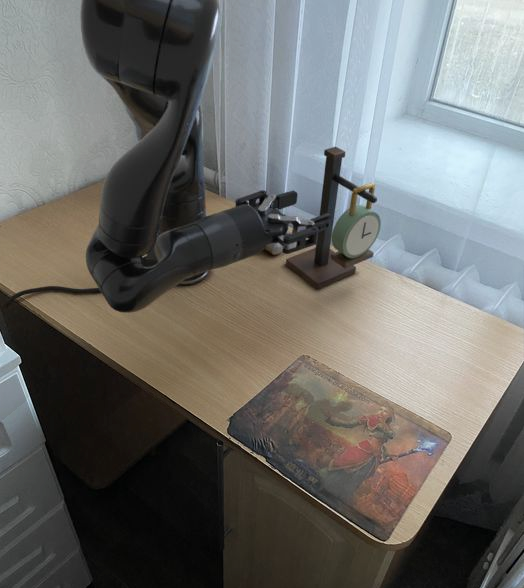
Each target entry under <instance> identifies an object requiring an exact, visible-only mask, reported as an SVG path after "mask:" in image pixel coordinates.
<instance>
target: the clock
mask: <svg viewBox="0 0 524 588" xmlns="http://www.w3.org/2000/svg"><path fill="white" fill-rule="evenodd" d="M375 188H376V183H375V182H369V183H367V184H363V185H361V186H358V188H355V189H353V192H351V198H350V204H349V208H348V209H346V210H345V211H344V212H343V213H342V214H341V215H340V216H339V218H338V219H337V220H336V222H335V225H334V226H333V229H332V237H331V245H332V246H333V248H334V249H335V250H336V251H334V252H335V253H333V254H331V259H332V260H334V261H335V262H336V263H338V264H339V265H341V266H342V267H343V268H345V269H346V268H348V267H350V266H353V265H354V266H355V265H357V264H360V263H362V262H364V261H367V260H369V259H372V258H373V257H374V252H373V251H372V250H370V249H371V248H372V247H373V245H374V244H375V242H376V241H377V239H378V236H379V235H380V230H381V226H382V225H381V224H382V221H381V217H380V215H379V214H378V213H377V212H375V211H374V210H372V205H373V203H371V202H369V201H368V200H366V204H365V205H364V204H357V201H358V196H359V195H358V194H357V193H358V192H361V191H364V190H365V191H367V190H368V192H369V193H371V194H372V195H374V196H375V191H376V189H375Z"/></svg>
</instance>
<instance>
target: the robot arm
mask: <svg viewBox="0 0 524 588" xmlns="http://www.w3.org/2000/svg"><path fill="white" fill-rule="evenodd" d="M80 4H81V5H80V13H79V14H80V15H79V17H80V18H79V19H80V33H81V41H82V45H83V49H84V52H85V55H86V58H87V60H88V63H89V65H90V67H91V68H92V69H93V71H94V72H95V73H96V74H97V75H98V76H100V77H101V78H103V80H105V82H107V83H108V84H109V85H110V86H111V88H113V90H114V91H115V93H116V95H117V96H118V98H119V100H120V102H121V104H122V106H123V108H124V109H125V111H126V114H127V115H128V117H129V118H130V119H131V121H132V124H133V126H134V130H135V135H136V139H137V141H138V142H137V143H136V144H134V145H133V146H132V147H131V148H130V149H128V150H127V151H126V152H125V153H124V154H123V155H121V157H119V158H118V159H117V160H116V161H115V162H114V163H113V165H112V166H111V168H110V169H109V170H108V172H107V174H106V176H105V178H104V181H103V184H102V187H101V194H100V202H99V203H100V205H99V216H98V225H97V227H96V228H95V229H94V231H93V234H92V235H91V238H90V240H89V242H88V244H87V247H86V250H85V262H86V264H85V265H86V268H87V270H88V272H89V274H90V276H91V277H92V279H93V281H94V283H95V284H96V286H97V287H91V288H74V287H73V288H72V287H67V286H60V285H59V286H58V285H47V286H41V287H40V286H39V287H33V288H28V289H24V290H21V291H18V292H16V293H14V294H13V295H11V296H10V297H9V298H8V299H7V300H6V301H5V302H4V303H3V305H2V307H1V308H3V309H6V308H8V307H9V306H10V305H11V303H12V302H13V301H15V300H17V299H18V298H20V297H22V296H25V295H29V294H34V293H39V292H47V291H59V292H67V293H72V294H90V293H101V294H102V296H103V298H104V299H105V302H107V304H108V305H109V307H110V308H111V309H112V310H114V311H115V312H119V313H125V314H130V313H136V312H137V313H138V312H140V311H142V310H144V309H146V308H147V307H148V306H150V305H152V304H153V303H154V302H155V301H156V300H158V299H159V298H160V297H162V296H163V295H164V294H166V293H168V291H170V290H172V289H173V288H174V287H176V286H177V285H179V286H180V285H181V286H187V285H188V286H190V285H194V284H197V283H200V282H202V281H203V280H205V279H206V278H207V276H208V275H209V273H210V271H211V270H216V269H221V268H224V267H227V266H229V265H232V264H235V263H237V262H240V261H243V260H245V259H249V258H251V257H254V256H256V255H258V254H261V253H262V252H263V251H264V250H265V249H264V248H265V247H266V246H267V245H268V244H272V243H279V244H280V245H281V246H283V250H282V253H283V254H285V255H289V254H292V253H295V252H299V251H301V250H304V249H307V248H310V247H313V246H316V244H317V239H318V233H319V232H321V231H324V230H326V229H329V228H330V225H331V219H332V216H331V215H330V214H328V213H326V214H324V215H321V216H320V215H318V216H315V217H313V218H310V219H300V218H299V217H298V216H294V215H286V214H284V213H281V211H280V210H283V209H286V208H289V207H291V206H294V205H296V204H297V202H298V192H297V191H296V190H294V189H293V190H290V191H286V192H282V193H279V194H277V195H276V194H275V193H270V194H268V192H267V191H266V190H259V191H256V192H253V193H250V194H247V195H245V196H242V197H240V198H237V199H235V205H234V207H231V208H228V209H225V210H221V211H218V212H216V213H212V214H209V215H207V208H206V206H207V205H206V187H205V186H206V185H205V184H206V183H205V173H204V115H203V106H202V103H201V102H202V99H203V96H204V93H205V90H206V86H207V83H208V80H209V77H210V74H211V70H212V67H213V64H214V59H215V56H216V51H217V47H218V44H219V43H218V41H219V36H220V29H221V7H220V2H219V1H218V0H81V2H80ZM257 201H258V202H257ZM290 224H291V225H292V231H289V225H290ZM300 227H301V228H302V227H303V228H304V229H301V230H299V228H300ZM288 231H289V232H288Z"/></svg>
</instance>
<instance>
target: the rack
mask: <svg viewBox="0 0 524 588" xmlns="http://www.w3.org/2000/svg"><path fill="white" fill-rule="evenodd" d="M323 151H324V152H323V156H324V157H325V165H324V172H323V173H324V174H323V183H322V189H321V190H322V191H321V200H320V208H319V216H321V215H324V214H326V213H328V214H330V215H331V216H332V219H331V225H330V228H329V229H326V230H324V231H321V232H319V233H318V239H317V244H316V245H315V247H314V248H310V249H308V250H306V251H303V252H301V253H298V254H296V255H293V256H290V257H288V258H286V259H285V266H286V267H288V268H289V269H290V270H291V271H293V272H294V273H295V274H297V275H298V276H299V277H301V278H302V279H303V280H304V281H305V282H307V283H308V284H309V285H311V286H312V287H313V288H315V289H316V290H320V289H322V288H325V287H327V286H329V285H331V284H333V283H336V282H338V281H340V280H343V279H345V278H348V277H350V276H352V275H354V274H356V271H357V267H356V266H355V265H353V266H350V267H348V268H346V269H345V268H343V267H342V266H341V265H339V264H338V263H336V262H335V261H334V260H332V259H331V254H333V253H335V252H336V251H334V250H333V249H331V245H332V233H333V229H334V221H335V213H336V207H337V199H338V192H339V185H340V186H342V187H344V188H345V189H347V190H349V191H351V193H353V189H355V188H358V187H359V186H358V185H357V184H355V183H353V182H351V181H349V180H348V179H346V178H344V177H343V176H341V170H342V162H343V158H345V157H346V151H345V150H343V149H341V148H339V147H337V146H333V147H329V148H326V149H324V150H323ZM357 194H358V195H357V196H359V197H361V198H363V199H364V200H365V201H367V200H368V201H369V202H371V203H372V204H376V203H377V202H378V197H377V196H376V195H375V194H374V195H372V194H371V193H369V191H367V190H364V191H361V192H358V193H357Z"/></svg>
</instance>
